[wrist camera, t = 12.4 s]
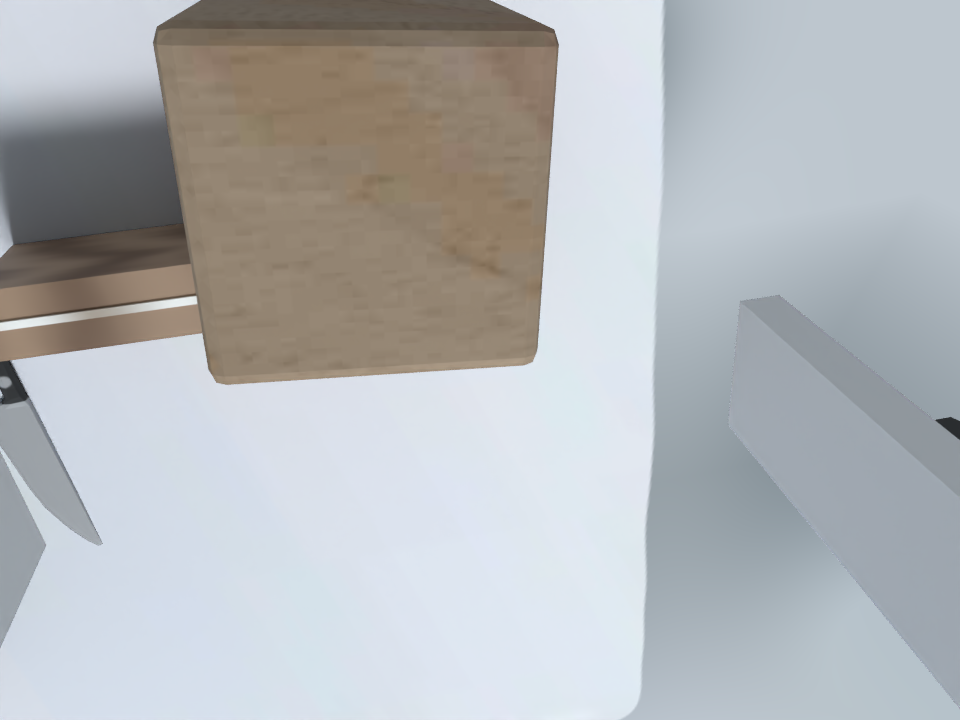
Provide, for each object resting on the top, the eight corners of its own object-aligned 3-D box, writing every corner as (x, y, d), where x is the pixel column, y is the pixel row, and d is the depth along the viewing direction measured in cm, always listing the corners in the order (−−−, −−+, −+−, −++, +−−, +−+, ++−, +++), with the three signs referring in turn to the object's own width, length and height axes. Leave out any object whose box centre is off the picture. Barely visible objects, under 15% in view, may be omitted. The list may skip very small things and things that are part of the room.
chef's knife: (64, 559, 49) (110, 551, 50) (57, 572, 48) (105, 564, 49) (-83, 293, 40) (-25, 284, 40) (-95, 303, 39) (-35, 294, 39)
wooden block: (233, -26, 35) (145, 22, 18) (452, -22, 36) (565, 25, 19) (259, 191, 40) (208, 392, 23) (451, 186, 41) (540, 370, 24)
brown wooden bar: (38, 307, 41) (-5, 363, 35) (13, 244, 39) (-36, 294, 34) (484, 246, 43) (506, 291, 38) (479, 186, 42) (502, 223, 36)
